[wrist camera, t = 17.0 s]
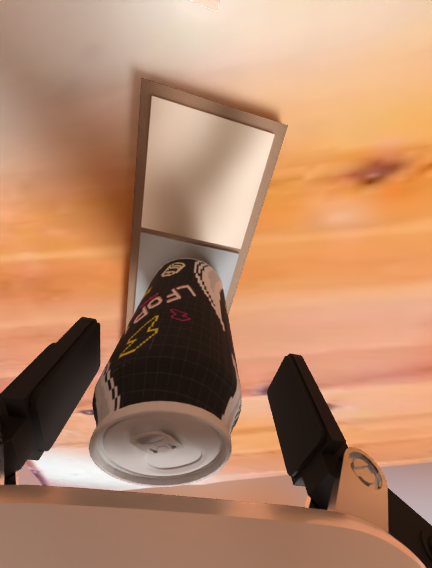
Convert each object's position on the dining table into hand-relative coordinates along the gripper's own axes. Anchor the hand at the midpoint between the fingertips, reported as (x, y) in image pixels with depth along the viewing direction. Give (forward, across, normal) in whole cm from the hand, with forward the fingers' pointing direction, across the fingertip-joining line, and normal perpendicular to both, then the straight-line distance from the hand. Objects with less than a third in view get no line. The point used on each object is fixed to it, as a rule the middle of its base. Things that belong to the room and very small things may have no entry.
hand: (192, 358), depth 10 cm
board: (+9, +2, +4) cm, 10 cm away
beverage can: (+8, +1, 0) cm, 8 cm away
